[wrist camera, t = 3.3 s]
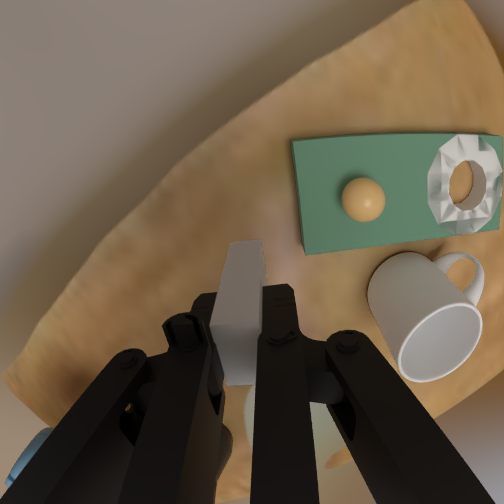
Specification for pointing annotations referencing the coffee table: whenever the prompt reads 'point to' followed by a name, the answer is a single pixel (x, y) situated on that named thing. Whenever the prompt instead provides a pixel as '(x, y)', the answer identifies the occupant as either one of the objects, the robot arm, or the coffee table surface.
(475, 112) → the coffee table surface
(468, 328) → the mug
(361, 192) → the ball
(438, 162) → the putting strip
